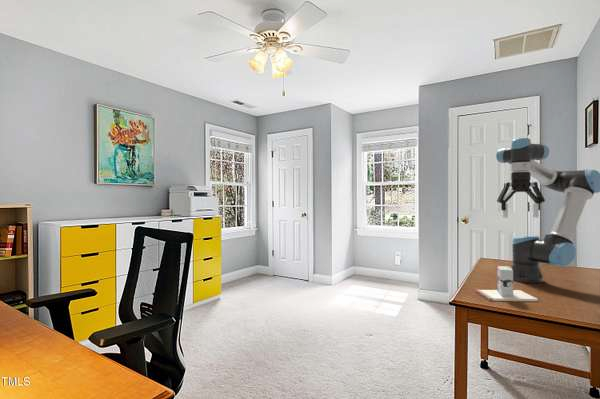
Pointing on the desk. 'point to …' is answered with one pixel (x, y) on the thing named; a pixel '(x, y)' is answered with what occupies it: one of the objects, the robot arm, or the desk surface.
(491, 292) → the notepad
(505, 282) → the ink box
